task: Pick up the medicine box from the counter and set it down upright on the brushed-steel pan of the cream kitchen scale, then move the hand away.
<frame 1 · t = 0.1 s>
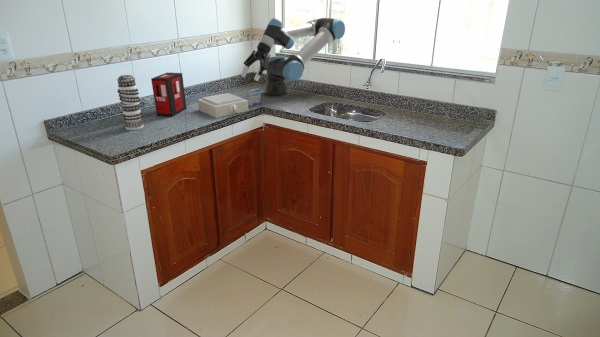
hand: (248, 78, 228), 15 cm above the counter, tool tilted 35°, fingers open, 13 cm apart
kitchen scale: (223, 110, 223), on the counter
striped tower model: (134, 127, 197), on the counter
medicine box: (253, 104, 235), on the counter
cleaning product box: (172, 112, 221), on the counter
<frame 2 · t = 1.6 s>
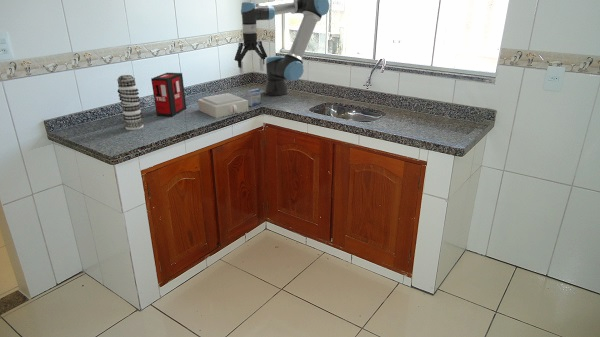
hand: (251, 72, 227), 19 cm above the counter, tool pointing down, fingers open, 13 cm apart
nothing on the counter moved.
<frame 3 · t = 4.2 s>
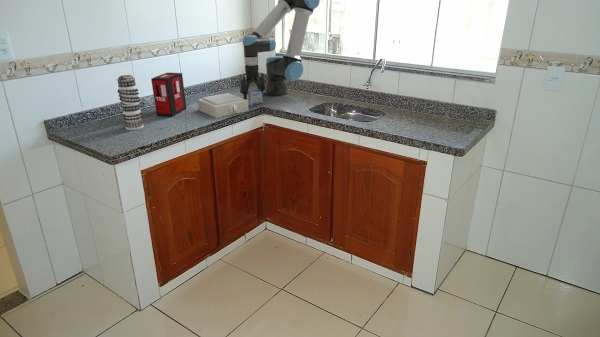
hand: (253, 103, 235), 0 cm above the counter, tool pointing down, fingers closed on medicine box, 8 cm apart
medicine box: (253, 104, 235), on the counter, touching gripper
everything else where it was.
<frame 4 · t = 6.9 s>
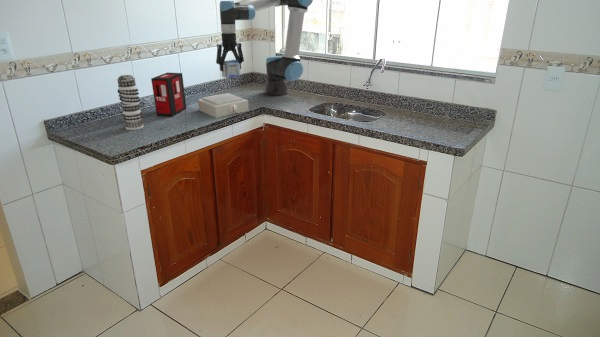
hand: (231, 76, 219), 18 cm above the counter, tool pointing down, fingers closed on medicine box, 8 cm apart
medicine box: (231, 77, 220), point 18 cm above the counter, touching gripper
everything else where it was.
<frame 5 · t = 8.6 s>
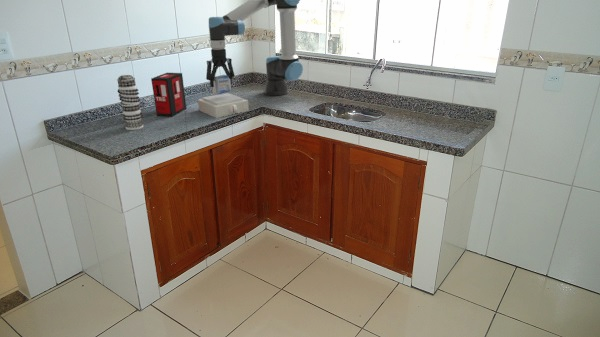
hand: (221, 91, 219), 11 cm above the counter, tool pointing down, fingers closed on medicine box, 8 cm apart
medicine box: (221, 92, 219), point 10 cm above the counter, touching gripper
everything else where it was.
when the fingers open (9 cm above the counter, at t = 9.8 s): medicine box drops 1 cm, resting on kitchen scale.
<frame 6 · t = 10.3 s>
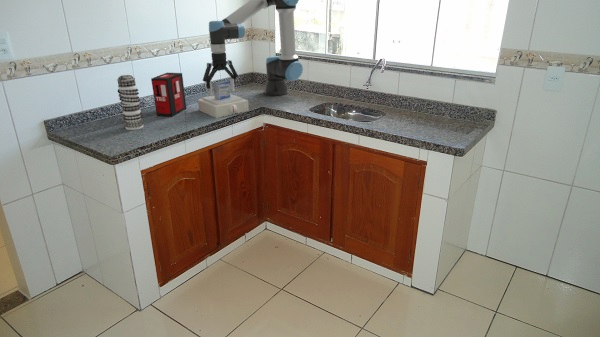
hand: (222, 92, 219), 10 cm above the counter, tool pointing down, fingers open, 13 cm apart
medicine box: (222, 98, 220), point 7 cm above the counter, touching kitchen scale
everything else where it was.
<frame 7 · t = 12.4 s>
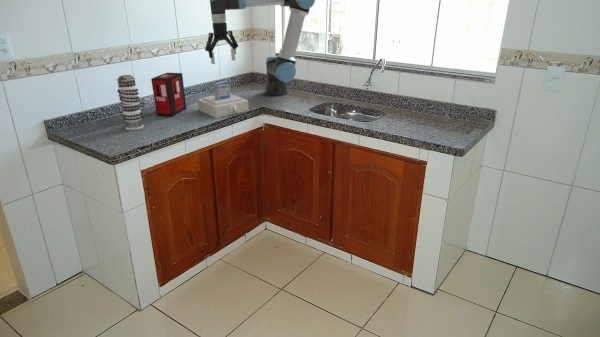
hand: (223, 62, 226), 24 cm above the counter, tool pointing down, fingers open, 13 cm apart
nothing on the counter moved.
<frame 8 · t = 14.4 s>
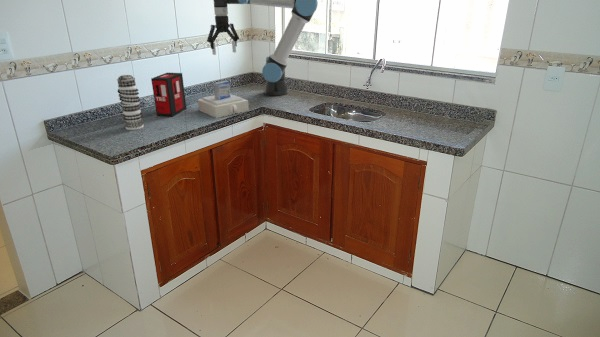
hand: (224, 53, 239), 27 cm above the counter, tool pointing down, fingers open, 13 cm apart
nothing on the counter moved.
at the end: medicine box inside the target area on the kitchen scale (0.0 cm from its centre), point 7.0 cm above the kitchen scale's base; medicine box tilted 0°; the gripper is holding nothing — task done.
